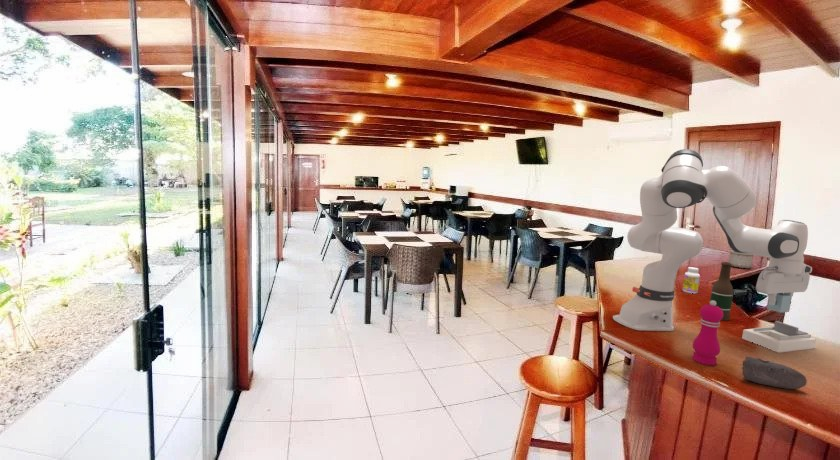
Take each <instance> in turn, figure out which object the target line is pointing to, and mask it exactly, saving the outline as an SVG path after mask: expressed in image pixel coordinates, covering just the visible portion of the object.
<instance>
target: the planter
mask: <svg viewBox="0 0 840 460" xmlns="http://www.w3.org/2000/svg"><path fill="white" fill-rule="evenodd" d="M753 258H754V255H752V254H746V253H738V252H735V251H733V250H730V252H729V257H728V262H729V263H731V264H732V266H731V267H733V266H734V267H733V268H735V267H739V268H738V269H741V268H745V269H751V268H752V264H753Z"/></svg>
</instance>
